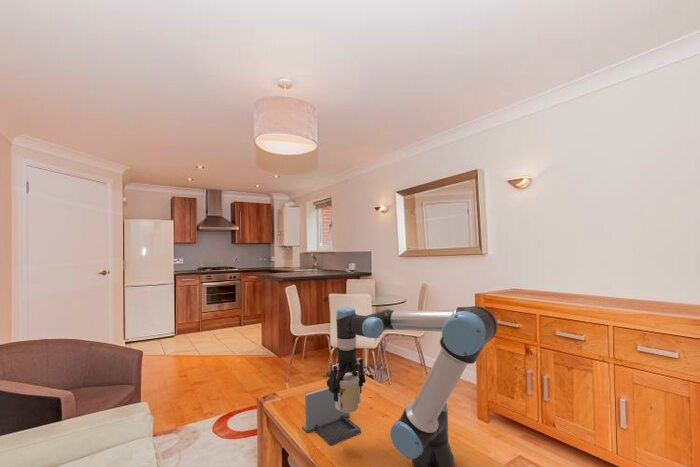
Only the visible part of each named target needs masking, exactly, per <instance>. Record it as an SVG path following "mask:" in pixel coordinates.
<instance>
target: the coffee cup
mask: <svg viewBox="0 0 700 467" xmlns="http://www.w3.org/2000/svg"><path fill="white" fill-rule="evenodd" d="M358 376H359V374H358V375H357V376H354V375H352V373H351V372H347V373H346V374H345V376H344V377H343V380H342V381H340V383H339V384H340V389H339V392H340V397H341V410H340V411H341V412H345V413H350V414H351V413H354V412H356V411H357V410H358V409H359V403H358V393H359V377H358ZM336 379H337V378H336Z"/></svg>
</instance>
